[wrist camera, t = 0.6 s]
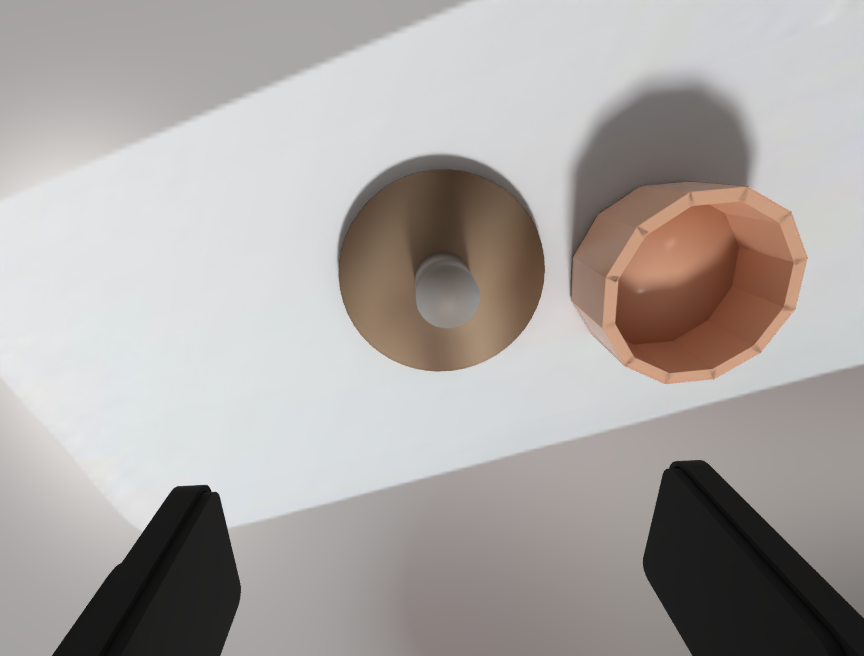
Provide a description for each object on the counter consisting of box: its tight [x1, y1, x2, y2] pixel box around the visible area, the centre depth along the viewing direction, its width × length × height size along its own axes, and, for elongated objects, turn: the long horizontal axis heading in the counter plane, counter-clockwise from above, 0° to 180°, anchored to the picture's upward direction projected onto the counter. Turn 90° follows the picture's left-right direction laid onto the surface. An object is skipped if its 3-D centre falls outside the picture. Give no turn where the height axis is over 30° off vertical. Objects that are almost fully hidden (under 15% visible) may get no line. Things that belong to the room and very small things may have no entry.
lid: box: [339, 170, 545, 371], centre depth 26 cm, size 13×13×5 cm
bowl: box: [571, 181, 808, 384], centre depth 26 cm, size 11×11×5 cm
